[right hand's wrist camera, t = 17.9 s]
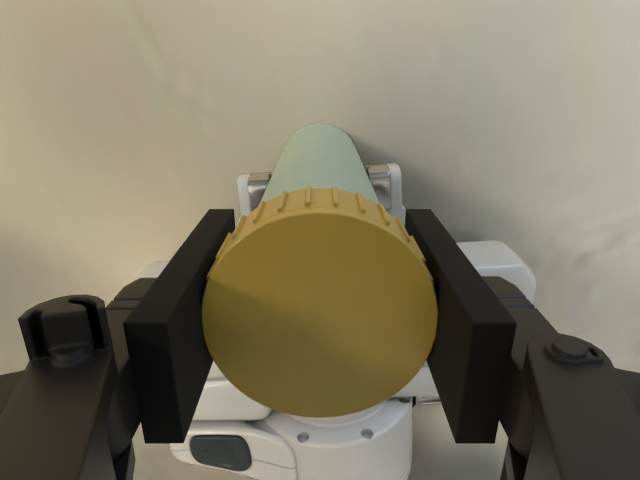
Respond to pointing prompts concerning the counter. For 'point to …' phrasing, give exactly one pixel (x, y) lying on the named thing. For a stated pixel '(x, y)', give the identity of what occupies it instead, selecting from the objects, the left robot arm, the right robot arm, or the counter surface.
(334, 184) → the jar
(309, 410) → the lid
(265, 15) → the counter surface
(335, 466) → the left robot arm
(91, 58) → the counter surface
